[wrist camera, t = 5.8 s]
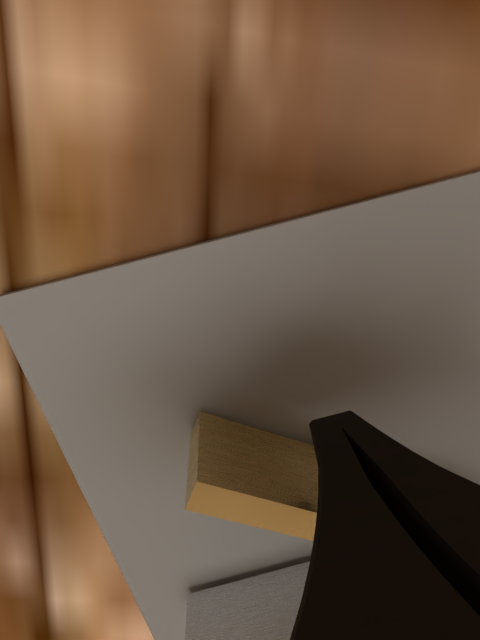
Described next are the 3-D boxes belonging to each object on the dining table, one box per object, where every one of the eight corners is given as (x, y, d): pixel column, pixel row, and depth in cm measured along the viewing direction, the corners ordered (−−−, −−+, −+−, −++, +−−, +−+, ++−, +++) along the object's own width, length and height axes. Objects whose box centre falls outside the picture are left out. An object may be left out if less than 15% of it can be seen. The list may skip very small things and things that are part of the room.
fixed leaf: (471, 483, 15) (602, 620, 10) (473, 527, 16) (596, 674, 11) (177, 562, 15) (161, 739, 10) (193, 602, 16) (187, 786, 11)
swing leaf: (200, 411, 13) (195, 501, 9) (490, 498, 15) (589, 600, 11) (176, 467, 13) (163, 575, 9) (458, 542, 16) (542, 653, 12)
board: (533, 155, 12) (554, 152, 11) (526, 549, 18) (540, 564, 17) (1, 294, 12) (-12, 299, 11) (168, 645, 18) (166, 664, 17)
